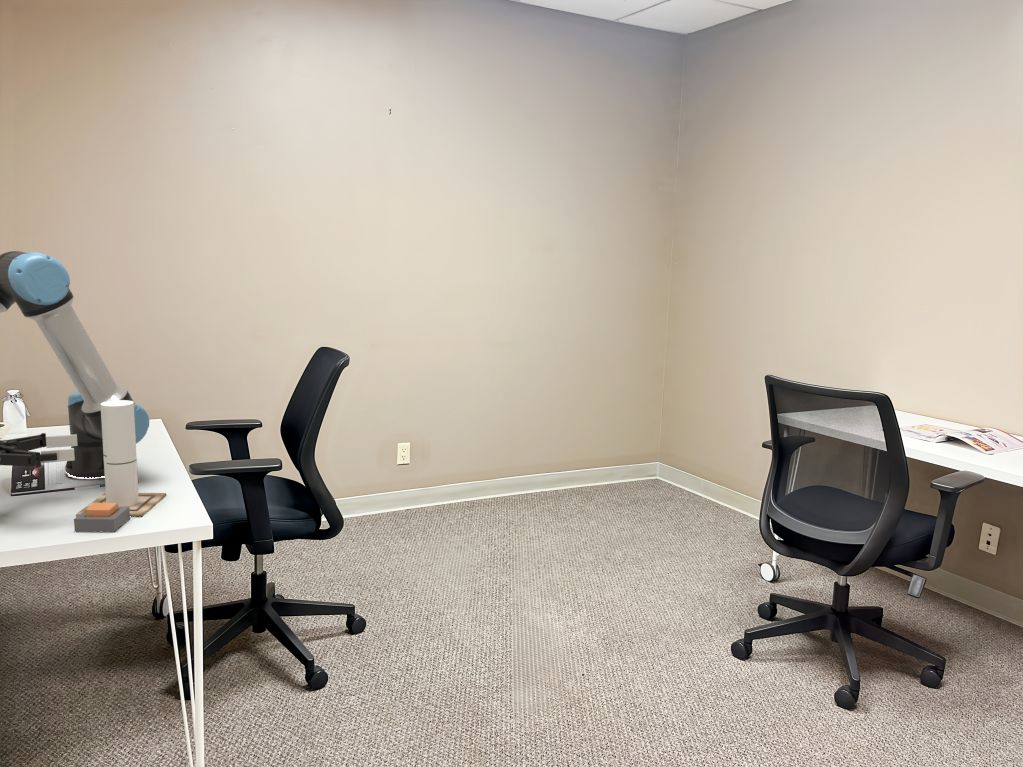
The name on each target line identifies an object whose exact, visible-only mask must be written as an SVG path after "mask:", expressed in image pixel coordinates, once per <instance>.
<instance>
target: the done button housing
mask: <svg viewBox="0 0 1023 767" xmlns="http://www.w3.org/2000/svg"><path fill="white" fill-rule="evenodd" d="M130 519H131V517H130V507H128V506H118V511H117V512H115V513H114V514H113V515H112V516H110V517H86V511H84V512H83V513H81V514H80V515H79V516H76V517H75V518H74V519H73V526H74V532H75V531H76V532H75V533H78V532H77V531H84V532H83V533H86V532H85V531H88V532H87V533H94V532H93V531H98V532H97V533H101V532H100V531H103V532H102V533H107V532H106V531H109V532H108V533H113V532H112V531H115V532H116V531H118V530H119V529H120V528H121V527H122V526H124V525H125V524H126V523H127V522H128V521H129V520H130ZM127 520H128V521H127ZM126 521H127V522H126ZM125 522H126V523H125ZM124 523H125V524H124ZM120 526H121V527H120ZM119 527H120V528H119ZM118 528H119V529H118ZM117 529H118V530H117Z"/></svg>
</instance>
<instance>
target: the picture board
mask: <svg viewBox="0 0 1023 767" xmlns="http://www.w3.org/2000/svg"><path fill="white" fill-rule="evenodd" d="M138 496H139V502H138V503H137V504H135V505H132V506H128V507H130V516H140V517H139V518H142V517H144V516H145V515H146V514H147V513H148V512H149V511H150V510H152V509H153V508H154V507H155V506H156V505H157V504H158V503H159V502H160V501H162V500H163V499H164V498H165V497H166V496H167V492H138ZM94 503H106V492H104V493H103V494H101V495H100V496H98V497H97V498H96V499H94V500H93V501H91V503H90V502H89V504H87V505H86V506H85V507H84V508H82V509H80V510H79V511H78V512H77V513H76V514H75V516H76V517H77V516H79V515H80V514H81V513H83V512H84V511H86V509H88V508H89V507H90V506H92V505H93V504H94ZM153 506H154V507H153ZM152 507H153V508H152ZM147 511H148V512H147ZM146 512H147V513H146ZM145 513H146V514H145ZM144 514H145V515H144ZM143 515H144V516H143ZM141 516H142V517H141Z"/></svg>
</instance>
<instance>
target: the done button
mask: <svg viewBox="0 0 1023 767" xmlns="http://www.w3.org/2000/svg"><path fill="white" fill-rule="evenodd" d="M117 511H118V503H94V504H93V505H92V506H90V507H89V508H88V509H86V517H110V516H112V515H113V514H114V513H115V512H117Z"/></svg>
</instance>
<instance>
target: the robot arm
mask: <svg viewBox="0 0 1023 767" xmlns="http://www.w3.org/2000/svg"><path fill="white" fill-rule="evenodd" d="M70 285H71V279H70V274H69V272H68V271H67V268H66V267H65V265H64V264H63V263H62V262H61V261H59V260H58V259H57V258H54V257H53V256H50V255H47V254H45V253H41V252H35V251H34V252H33V251H32V252H31V251H30V252H29V251H28V252H25V251H19V250H18V251H17V250H12V251H6V252H4V253H1V254H0V313H6V312H7V311H8V310H9V309H10V308H11V307H12V306H13V305H14V304H15V303H16V305H17V307H18V309H19V310H20V312H21V313H22V315H23V316H24V318H26V319H30V320H34V321H35V323H36V324H37V326H38V328H39V329H40V331H41V333H42V334H43V336H44V337H45V339H46V341H47V343H48V344H49V346H50V347H51V350H52V351H53V353H54V354H55V356H56V358H57V359H58V360H59V362H60V364H61V365H62V367H63V369H64V370H65V373H66V374H67V375H68V377H69V379H70V381H71V383H72V384H73V385H74V387H75V389H76V390H77V392H74V393H70V395H69V396H68V398H67V401H68V402H67V409H68V411H67V412H68V423H69V424H68V425H69V434H62V435H52V436H51V435H50V436H49V435H47V433H46V432H43V433H42V432H41V434H37V435H30V436H25V437H18V438H10V439H4V440H3V439H2V440H1V439H0V466H11V467H33V468H34V467H35V468H41V467H42V464H45V463H46V464H47V463H58V462H59V463H60V462H66V463H65V467H64V471H66V472H67V473H69V474H70V475H73V476H76V477H84V478H85V477H87V478H89V477H91V478H92V477H94V478H95V477H101V476H105V472H104V454H103V438H102V421H101V403H103V402H107V401H114V400H128V401H133V402H134V399H133V398H132V396H131V394H130V393H129V391H128V389H127V388H126V387H125V386H120V385H118V384H117V383H116V381H115V379H114V377H113V376H112V374H111V372H110V371H109V369H108V367H107V366H106V364H105V362H104V360H103V358H102V357H101V354H100V353H99V351H98V350H97V348H96V346H95V344H94V343H93V341H92V339H91V337H90V336H89V334H88V332H87V330H86V328H84V325H83V323H82V321H81V320H80V318H79V317H78V315H77V313H76V311H75V310H74V308H73V306H72V304H73V301H74V297H75V296H74V294H73V293H72V291H71V289H70ZM134 417H135V437H136V445H137V444H138V443H140V442H141V441H142V440H143V439H144V437H145V436H146V434H148V433H147V432H148V430H149V427H150V416H149V414H148V412H147V411H146V409H144V408H143V407H142V405H139V404H136V403H135V402H134ZM45 447H46V450H40V452H38V451H32V450H37V449H41V448H45ZM64 447H65V448H64ZM67 447H70V448H67ZM52 448H59V449H52ZM61 448H62V449H61Z"/></svg>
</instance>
